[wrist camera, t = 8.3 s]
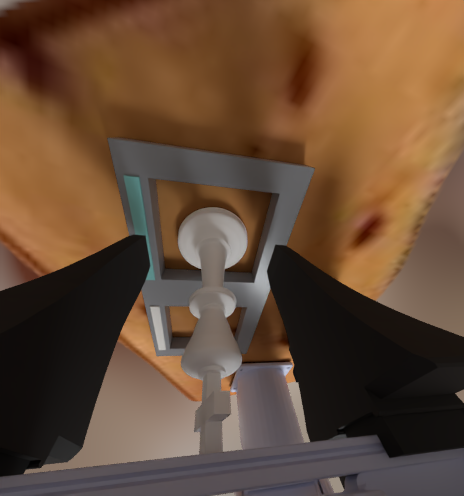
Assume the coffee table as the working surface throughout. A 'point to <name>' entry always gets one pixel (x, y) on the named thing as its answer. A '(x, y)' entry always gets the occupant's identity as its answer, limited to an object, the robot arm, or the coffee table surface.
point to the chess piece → (212, 314)
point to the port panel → (215, 174)
